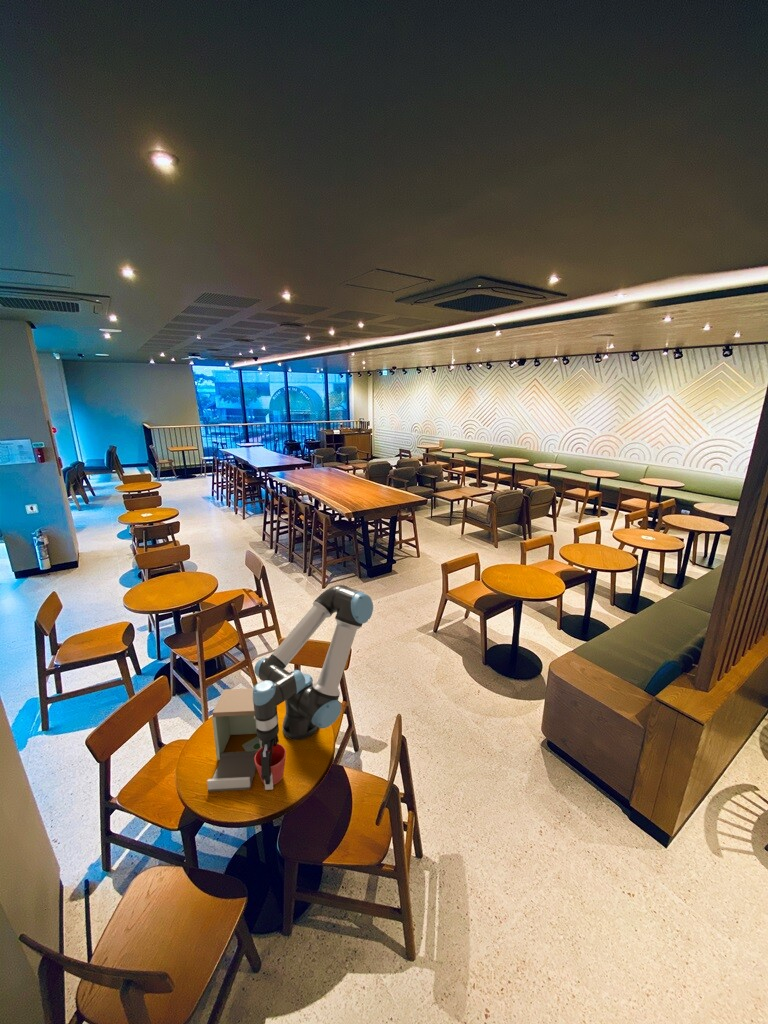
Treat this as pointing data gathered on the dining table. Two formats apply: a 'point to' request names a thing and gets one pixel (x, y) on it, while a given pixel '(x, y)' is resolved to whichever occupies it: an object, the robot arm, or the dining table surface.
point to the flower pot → (273, 762)
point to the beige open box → (233, 717)
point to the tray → (233, 772)
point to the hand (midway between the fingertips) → (272, 776)
